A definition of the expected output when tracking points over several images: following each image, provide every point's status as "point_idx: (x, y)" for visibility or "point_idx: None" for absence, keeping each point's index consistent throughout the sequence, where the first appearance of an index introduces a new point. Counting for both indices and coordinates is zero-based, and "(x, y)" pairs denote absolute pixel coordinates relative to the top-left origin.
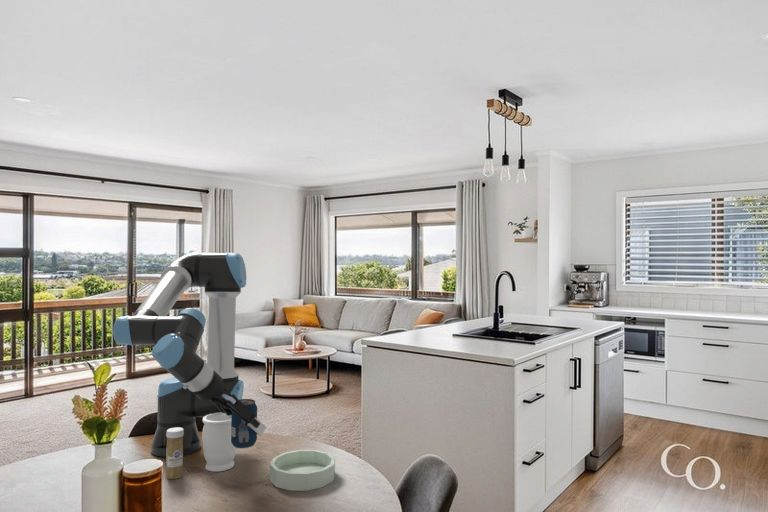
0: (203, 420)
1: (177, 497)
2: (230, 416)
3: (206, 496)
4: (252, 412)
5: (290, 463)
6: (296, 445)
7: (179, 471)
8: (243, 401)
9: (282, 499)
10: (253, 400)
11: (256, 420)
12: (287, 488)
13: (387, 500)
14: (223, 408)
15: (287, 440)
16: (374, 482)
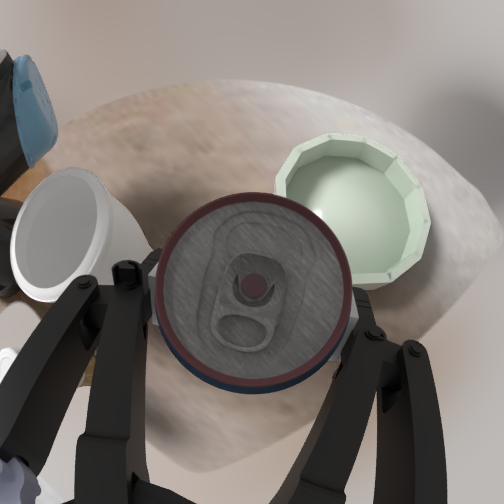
0: (25, 292)
1: (179, 447)
2: (156, 322)
3: (231, 418)
4: (430, 378)
5: (287, 185)
6: (207, 101)
7: (91, 371)
8: (206, 254)
9: (391, 331)
10: (281, 201)
11: (371, 314)
12: (371, 289)
13: (496, 226)
14: (143, 408)
15: (173, 96)
16: (451, 177)
